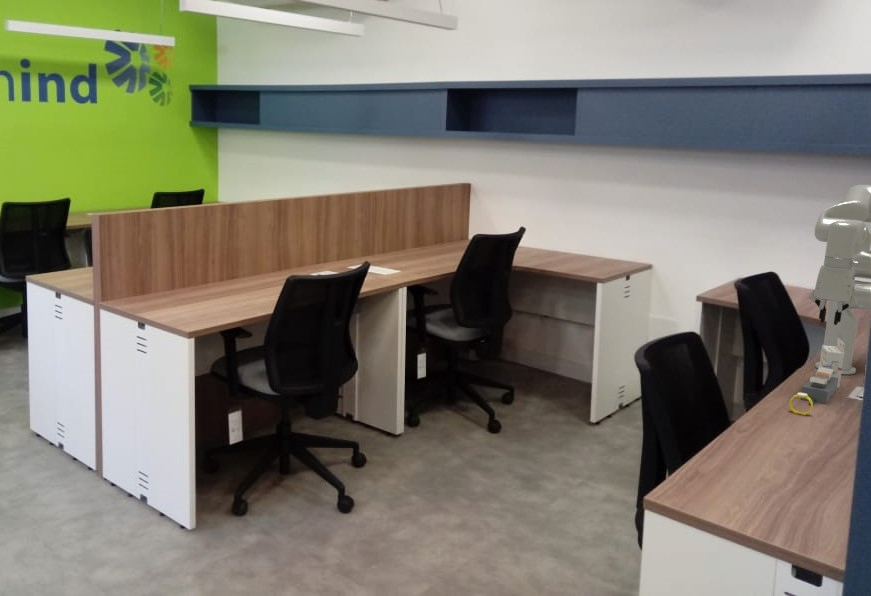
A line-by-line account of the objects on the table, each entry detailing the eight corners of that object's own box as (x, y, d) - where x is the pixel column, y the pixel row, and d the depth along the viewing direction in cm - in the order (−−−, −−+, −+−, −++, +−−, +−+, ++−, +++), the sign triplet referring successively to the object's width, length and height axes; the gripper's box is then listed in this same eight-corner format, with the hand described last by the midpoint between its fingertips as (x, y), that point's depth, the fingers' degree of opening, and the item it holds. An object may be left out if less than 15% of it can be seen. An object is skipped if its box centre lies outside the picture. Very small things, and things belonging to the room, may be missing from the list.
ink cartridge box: (816, 379, 261) (822, 335, 258) (832, 380, 261) (838, 337, 257) (823, 386, 253) (829, 342, 250) (839, 388, 252) (846, 343, 249)
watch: (788, 413, 227) (789, 393, 226) (790, 410, 230) (791, 391, 229) (810, 416, 224) (812, 396, 223) (812, 414, 226) (814, 394, 225)
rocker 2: (812, 380, 244) (813, 376, 243) (826, 383, 241) (827, 378, 241) (809, 381, 239) (810, 376, 239) (824, 384, 237) (825, 379, 237)
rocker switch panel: (812, 385, 254) (814, 371, 253) (836, 390, 250) (838, 375, 249) (797, 402, 236) (800, 387, 235) (823, 408, 232) (825, 392, 231)
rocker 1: (819, 370, 251) (819, 366, 250) (832, 373, 248) (833, 369, 248) (815, 378, 247) (815, 373, 246) (829, 380, 244) (829, 376, 244)
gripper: (870, 265, 234) (861, 325, 238) (810, 258, 243) (802, 316, 247) (867, 268, 228) (857, 330, 232) (805, 260, 237) (797, 320, 241)
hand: (829, 322), depth 239 cm, fingers open, 3 cm apart
